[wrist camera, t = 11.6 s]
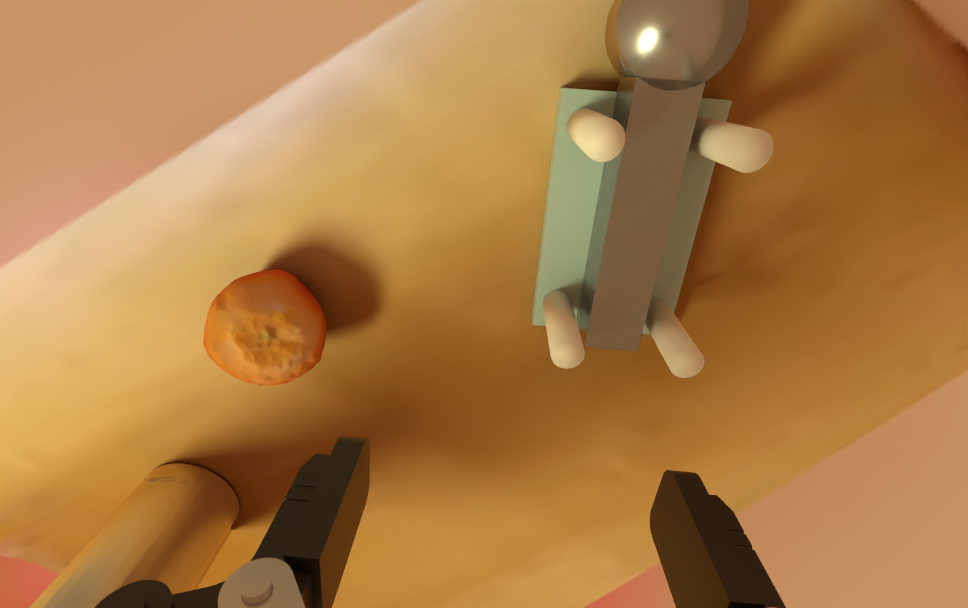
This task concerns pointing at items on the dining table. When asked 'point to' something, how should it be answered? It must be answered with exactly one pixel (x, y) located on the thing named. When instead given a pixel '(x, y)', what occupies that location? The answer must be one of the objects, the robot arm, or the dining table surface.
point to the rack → (572, 205)
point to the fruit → (265, 328)
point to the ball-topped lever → (648, 151)
